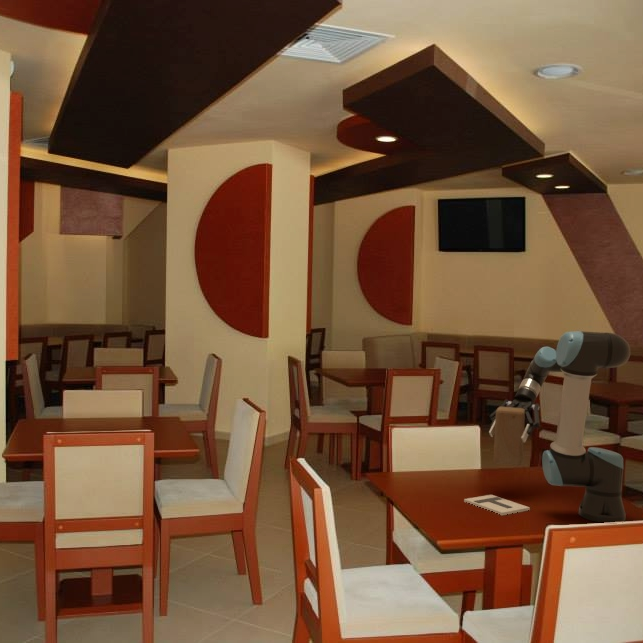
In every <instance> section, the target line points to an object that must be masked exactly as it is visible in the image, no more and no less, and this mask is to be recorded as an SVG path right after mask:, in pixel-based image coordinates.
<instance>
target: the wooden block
mask: <svg viewBox="0 0 643 643" xmlns="http://www.w3.org/2000/svg"><path fill="white" fill-rule="evenodd" d="M497 408H498V409H497ZM497 408H496V409H497V410H496V409H495V410H496V419H495V434H494V442H493V459H492V460H493V462H494V464H498V465H500V464H501V465H508V466H509V465H510V466H516V467H517V466H518V467H520V466H521V465H522V463H523V457H524V442H523V441H522V439H521V437H522V435H523V432H524V430H525V420H526V416H525V415H526V413H525V409H523V408H513V407H501V405H500V406H499V407H498V406H497Z"/></svg>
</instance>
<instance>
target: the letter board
mask: <svg viewBox="0 0 643 643" xmlns="http://www.w3.org/2000/svg"><path fill="white" fill-rule="evenodd" d="M463 502H464V503H466V502H467V503H466V504H468V503H470V504H469V505H471V504H473V505H472V506H474V505H475V507H477V506H478V507H477V508H479V507H481V508H480V509H482V508H484V509H483V510H485V509H487V510H486V511H488V510H490V511H489V512H491V511H493V512H495V513H494V514H496V513H498V514H497V515H499V514H500V515H499V516H506V515H507V514H508V515H513V514H517V512H518V513H524V512H527V511H528V510H529V511H531V509H530V508H531V507H529V506H526V505H523V504H520V503H519V502H516V501H515V502H514V501H512V500H509V499H505V498H502V497H499V496H497V495H493V494H485V495H480V496H475V497H468V498H464V499H463ZM493 512H492V513H493ZM512 513H513V514H512Z"/></svg>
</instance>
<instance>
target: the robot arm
mask: <svg viewBox="0 0 643 643" xmlns="http://www.w3.org/2000/svg"><path fill="white" fill-rule="evenodd" d="M630 356H631V347H630V343H629V342H627V340H626V339H625V338H624V337H622V336H621V335H619V334H617V333H614V332H613V333H612V332H600V331H599V332H598V331H596V332H595V331H584V330H583V331H581V330H576V331H575V330H573V331H566V332H564V333H563V334H562V335H561V336H560V338H559V340H558V342H557V346H556V349H554V348H552V347H550V346H543V347H541V348H539V350H537V352H536V354H535V355H534V358H533V359H532V360H531V362H530V364H529V366H528V368H527V370H526V372H525V375H524V376H523V379H522V381H521V383H520V385H519V387H518V390H517V391H516V393H515V395H514V397H513V398H514V399H513V400H512V401H511V400H508V399H507V398H506V399H504V401H503V403H502V404H500V406H501V407H513V408H523V409H525V415H526V416H525V417H526V418H527V420H528V423H527V424H526V426H525V427H524V432H523V435H522V437H521V439H522V441H523V442H524V443H526V442H527V439H528V437H529V436H530V435H532V434H533V431H534V429H535V428H537V429H539V428H541V422H540V421H541V420H540V411H541V407H540V404H539V403H536V400H537V397H538V396H539V394H540V392H541V389H542V387H543V385H544V383H545V381H546V379H547V377H548V375H550V373H562V374H564V376H563V384H562V385H563V386H562V390H561V391H562V392H561V400H560V406H559V412H558V420H557V429H556V436H555V440H554V441H552V442H551V443H550V446H549V450H548V449H547V450H544V451H543V452H542V456H541V461H542V462H541V463H542V470H543V475H544V478H545V480H546V481H547V483H548V484H550V485H551V486H560V487H585V491H584V492H585V493H584V495H583V496H582V500H581V502H580V503H579V504H580V505H579V508H578V515H579V516H580V517H581V518H583V519H585V520H588V521H591V522H592V521H593V522H597V523H601V522H615V521H624V522H625V521H626V516H627V515H626V511H625V506H624V503H623V500H622V492H623V478H624V477H623V476H624V469H625V468H624V458H623V456H622V455H621V453H618V452H616V451H613V450H610V449H609V450H608V449H605V448H601V447H593V446H591V447H588V449H587V451H586V448H585V446H584V445H583V442H584V441H583V440H584V432H585V428H586V427H585V426H586V419H587V413H588V406H589V399H590V391H591V385H592V379H593V378H594V377H596V376H597V375H598V370H599V369H600V368H603V369H611V368H613V369H614V368H619V367H622V366H623V365H625V364H627V362H628V361H629V359H630ZM497 409H498V407H497V408H496V409H495V410H494V411H493V412H492V413H491V414H490V415H489V418H490V420H491V423H490V429H489V431H488V433H489V436H490V437H491V438H493V437H495V419H496V410H497ZM531 410H533V414H534V421H533V418H532V417H531V415H530V412H529V411H531ZM524 443H523V444H524Z"/></svg>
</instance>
